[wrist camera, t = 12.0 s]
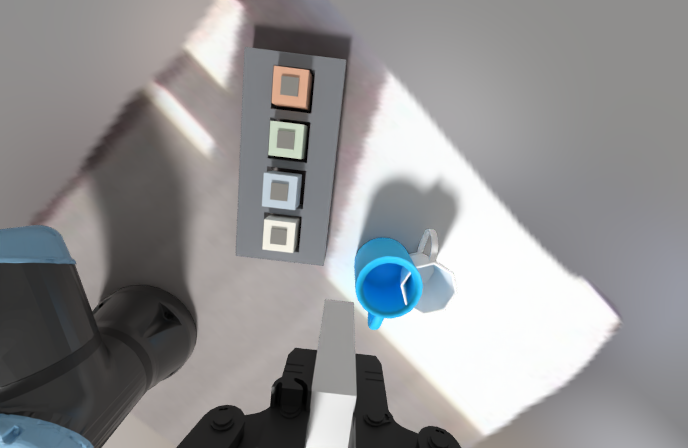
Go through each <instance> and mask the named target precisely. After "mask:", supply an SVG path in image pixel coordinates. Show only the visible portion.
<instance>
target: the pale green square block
mask: <svg viewBox="0 0 688 448" xmlns="http://www.w3.org/2000/svg"><path fill="white" fill-rule="evenodd" d="M307 133H308V126H306V125H302V124H294V123H286V122H277V121H270V135H269V151H268V155H271V156H280V157H288V158H296V159H304V158H305V155H306V144H307Z"/></svg>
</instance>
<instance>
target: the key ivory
mask: <svg viewBox="0 0 688 448" xmlns="http://www.w3.org/2000/svg"><path fill="white" fill-rule="evenodd" d="M299 222H300V217H296V216H288V215H279V214H270V215H269V216H268V217H266V218H265V219H264V231H263V246H262V249H263V250H272V251H280V252H289V253H293V252H294V250H295V248H296V247H297V245H298V234H299Z"/></svg>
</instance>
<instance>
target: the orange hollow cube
mask: <svg viewBox="0 0 688 448" xmlns="http://www.w3.org/2000/svg"><path fill="white" fill-rule="evenodd" d="M311 88H312V75H311V73H310V71H309V70H304V69H296V68H288V67H280V66H274V72H273V87H272V103H273V104H275V105H276V106H278V107H286V108H294V109H302V110H310V99H311Z"/></svg>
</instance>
